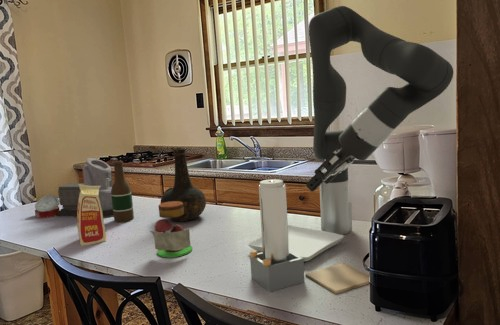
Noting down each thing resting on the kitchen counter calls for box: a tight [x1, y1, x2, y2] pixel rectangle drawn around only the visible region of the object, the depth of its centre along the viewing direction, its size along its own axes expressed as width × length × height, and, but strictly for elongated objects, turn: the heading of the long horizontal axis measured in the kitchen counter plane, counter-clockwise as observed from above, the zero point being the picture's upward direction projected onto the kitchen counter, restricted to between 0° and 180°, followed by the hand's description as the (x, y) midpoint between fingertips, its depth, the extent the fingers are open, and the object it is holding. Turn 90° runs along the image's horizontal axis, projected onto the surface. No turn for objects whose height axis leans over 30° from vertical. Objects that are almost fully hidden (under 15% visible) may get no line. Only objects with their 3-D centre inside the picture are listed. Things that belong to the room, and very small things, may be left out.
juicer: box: [55, 157, 114, 219], centre depth 184 cm, size 30×16×24 cm, turn 74°
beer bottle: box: [111, 160, 135, 223], centre depth 169 cm, size 8×8×24 cm
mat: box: [305, 262, 370, 295], centre depth 103 cm, size 12×12×1 cm
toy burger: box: [149, 201, 193, 258], centre depth 129 cm, size 12×13×15 cm
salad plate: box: [247, 224, 345, 262], centre depth 126 cm, size 21×21×3 cm
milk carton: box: [76, 185, 107, 247], centre depth 145 cm, size 9×9×20 cm
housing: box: [249, 249, 305, 293], centre depth 104 cm, size 10×10×7 cm
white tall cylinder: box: [258, 178, 289, 265], centre depth 103 cm, size 6×6×25 cm
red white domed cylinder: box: [34, 194, 61, 219], centre depth 187 cm, size 11×10×10 cm
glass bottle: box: [160, 147, 207, 222], centre depth 165 cm, size 18×18×28 cm
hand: (316, 184), depth 95 cm, fingers open, 8 cm apart
